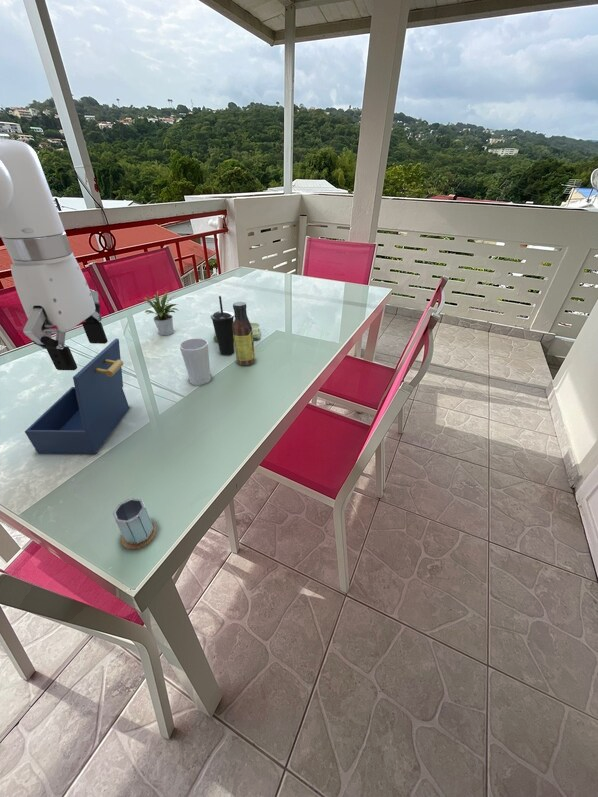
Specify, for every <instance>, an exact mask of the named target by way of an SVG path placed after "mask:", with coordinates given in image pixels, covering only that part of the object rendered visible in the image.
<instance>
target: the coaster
mask: <svg viewBox="0 0 598 797" xmlns="http://www.w3.org/2000/svg"><path fill="white" fill-rule="evenodd" d="M151 523H152V525H153V533H152V535H151V536H150V538H149V539H148V540H146V541H145V542H143V543H141V544H138V545H131V544H129V543H127V542H126V541H125V539H124V537H123V535H122V534H121V538H120V539H121V544H122V546H123V548H125V549H127V550H131V551H135V550H141V549H142V548H144V547H146V546H148V545H149V544H150V543H151V542H152V541H153V540H154V538H155V536H156V533H157V527H156V524H155V523H154V522H153V521H152V520H151Z"/></svg>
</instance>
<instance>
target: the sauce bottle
mask: <svg viewBox="0 0 598 797" xmlns="http://www.w3.org/2000/svg"><path fill="white" fill-rule="evenodd" d="M232 308H233V312H234V313H233V314H234V319H233V337H234V353H235V359H236V362H237V364H238V365H241V366H249V365H252V364H254V363H255V361H256V360H255V359H256V358H255V357H256V352H255V344H254V340H253V332H252V326H251V324H250V323H251V321H250V320H249V317H248V315H247V303H246V302H245V301H244V302H243V301H236V302H234V303H232Z"/></svg>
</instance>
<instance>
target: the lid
mask: <svg viewBox="0 0 598 797" xmlns="http://www.w3.org/2000/svg"><path fill="white" fill-rule="evenodd" d="M122 366H124V362H123V360H122V358H121V348H120V339H119V338H115V339H113V340H112V341H111V342H110V343H109V344H108V345H107V346H106V347H105V348H104V349H102V350H101V351H100V352H99V353H97V355H96V356H95V357H93V358H92V359H91V360H90V361H89V362H88V363H87V364H86V365H84V366H83V367H82V368H81V369H80V370H79V371H78V372H77V373H76V374H75V375H74V376H73V377H72V380H73V385H74V386H73V387H75V391H76V396H77V401H78V406H79V412H80V417H81V422H82V427H83V430H84V431H87V430H88V428H89V427H90V426H91V425H92V424H93V422H94V421H95V420H96V419H97V417H98V416H99V415H100V414H101V413H102V411H103V410H104V409H105V408H106V407H107V405H108V404H109V403H110V402H111V401H112V399H113V398H114V397H115V396H116V395H117V393H118V392H119V391H120V390H121V388H123V387H124V380H123V369H122Z"/></svg>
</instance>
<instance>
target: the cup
mask: <svg viewBox="0 0 598 797" xmlns="http://www.w3.org/2000/svg"><path fill="white" fill-rule="evenodd" d="M178 347H179V350H180V353H181V357H182V358H183V362H184V366H185V368H186V372H187V375H188V379H189V383H190V384H191V385H194V386H202V385H206V384H207V383H209V382H211V380H212V375H211V368H210V367H211V366H210V358H209V357H210V356H209V342H208V340H207V339H204V338H201V337H200V338H199V337H196V338H195V337H193V338H188V339H185V340H182V341H181V342H180V343H179V344H178Z"/></svg>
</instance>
